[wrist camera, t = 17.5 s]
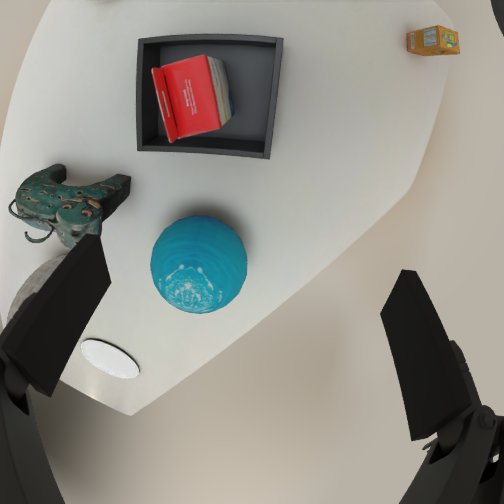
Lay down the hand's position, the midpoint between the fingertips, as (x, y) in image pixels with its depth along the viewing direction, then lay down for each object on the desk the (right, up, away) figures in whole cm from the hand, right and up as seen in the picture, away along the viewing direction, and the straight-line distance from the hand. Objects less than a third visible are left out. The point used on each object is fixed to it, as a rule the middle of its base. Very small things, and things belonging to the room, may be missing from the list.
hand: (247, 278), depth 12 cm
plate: (-45, -32, +67) cm, 87 cm away
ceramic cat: (-28, +14, +33) cm, 46 cm away
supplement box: (+24, +31, +16) cm, 43 cm away
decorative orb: (-7, +4, +38) cm, 39 cm away
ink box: (-5, +23, +23) cm, 33 cm away
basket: (-5, +24, +24) cm, 34 cm away
